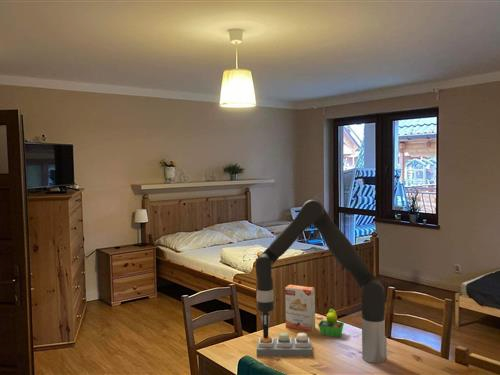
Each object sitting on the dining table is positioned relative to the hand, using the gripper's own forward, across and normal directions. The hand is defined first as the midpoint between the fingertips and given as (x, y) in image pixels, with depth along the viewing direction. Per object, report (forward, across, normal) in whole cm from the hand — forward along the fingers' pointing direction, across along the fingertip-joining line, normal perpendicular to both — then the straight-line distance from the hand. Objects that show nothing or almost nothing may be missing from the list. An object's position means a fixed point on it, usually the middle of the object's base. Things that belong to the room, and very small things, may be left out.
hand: (265, 337), depth 197 cm
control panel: (+6, 0, -8) cm, 10 cm away
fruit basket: (+6, +20, -31) cm, 38 cm away
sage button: (+1, 0, -8) cm, 8 cm away
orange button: (+2, 0, 0) cm, 2 cm away
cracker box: (+6, +28, -17) cm, 33 cm away
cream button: (+1, 0, -16) cm, 16 cm away
